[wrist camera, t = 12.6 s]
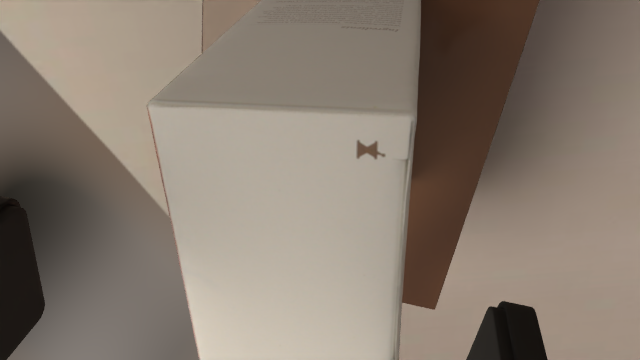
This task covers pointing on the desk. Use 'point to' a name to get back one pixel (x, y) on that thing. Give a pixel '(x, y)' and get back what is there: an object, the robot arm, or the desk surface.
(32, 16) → the desk surface
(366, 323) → the small box
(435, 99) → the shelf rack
